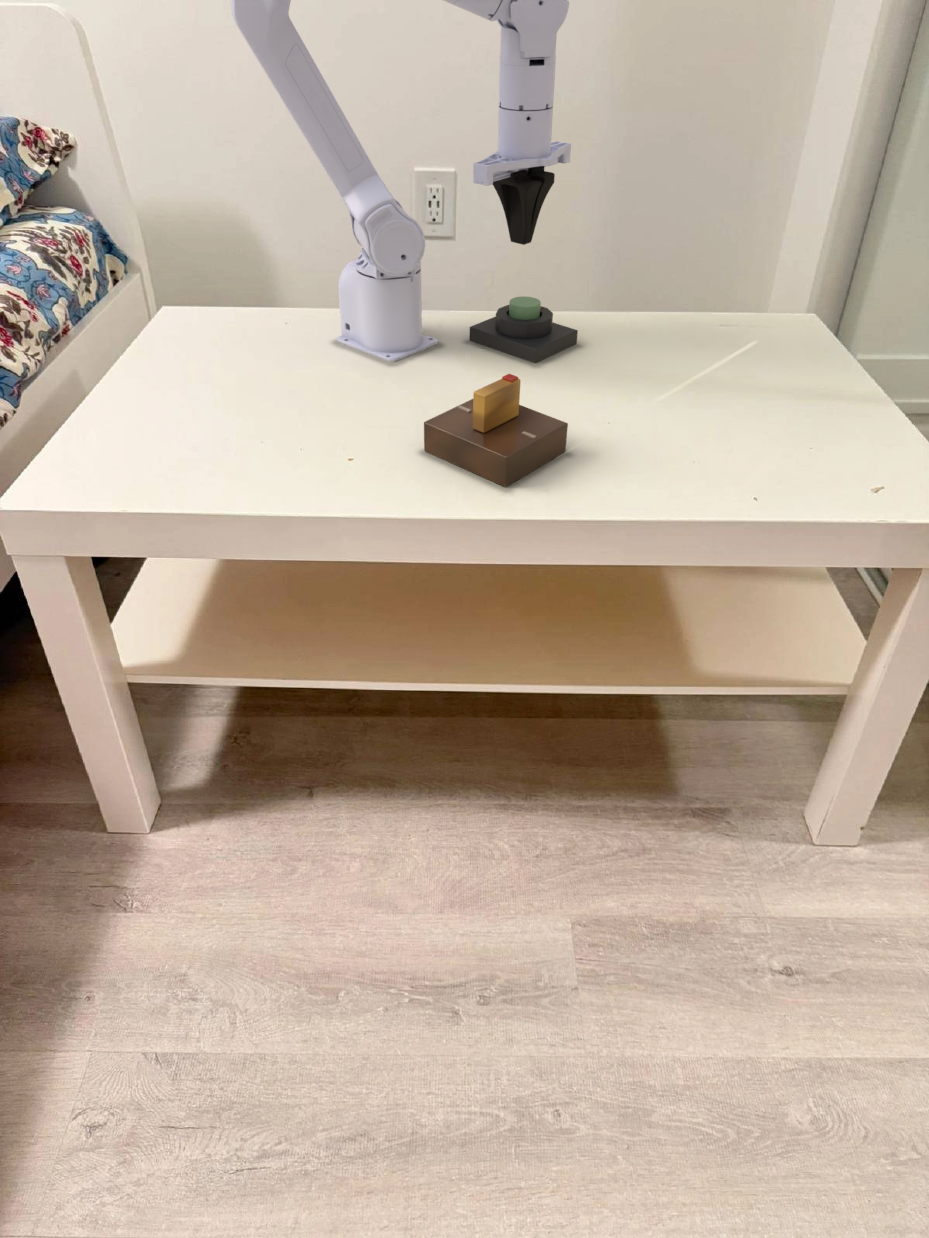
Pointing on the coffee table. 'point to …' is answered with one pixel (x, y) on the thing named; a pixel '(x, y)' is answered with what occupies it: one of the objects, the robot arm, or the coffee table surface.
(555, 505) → the coffee table surface
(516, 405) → the block
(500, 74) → the robot arm
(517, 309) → the button
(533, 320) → the push button base
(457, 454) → the plate
